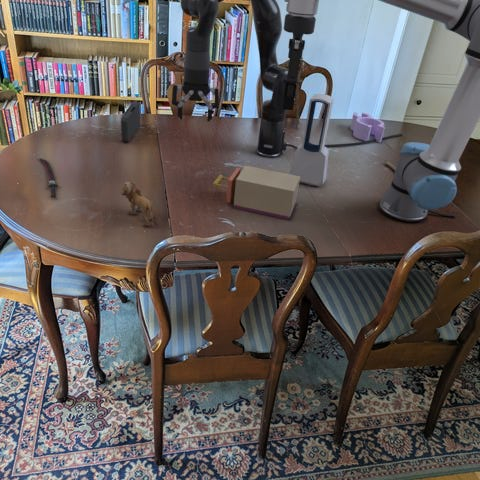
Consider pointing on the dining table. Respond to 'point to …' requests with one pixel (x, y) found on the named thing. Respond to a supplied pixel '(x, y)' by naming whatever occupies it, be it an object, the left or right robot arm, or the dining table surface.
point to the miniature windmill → (297, 99)
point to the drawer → (230, 184)
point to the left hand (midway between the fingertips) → (194, 119)
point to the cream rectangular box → (266, 192)
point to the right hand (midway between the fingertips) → (288, 102)
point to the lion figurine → (137, 201)
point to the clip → (367, 127)
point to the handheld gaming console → (130, 121)
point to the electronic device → (313, 147)
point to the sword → (52, 181)
